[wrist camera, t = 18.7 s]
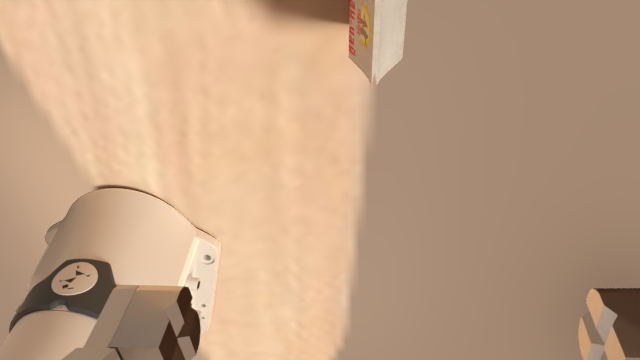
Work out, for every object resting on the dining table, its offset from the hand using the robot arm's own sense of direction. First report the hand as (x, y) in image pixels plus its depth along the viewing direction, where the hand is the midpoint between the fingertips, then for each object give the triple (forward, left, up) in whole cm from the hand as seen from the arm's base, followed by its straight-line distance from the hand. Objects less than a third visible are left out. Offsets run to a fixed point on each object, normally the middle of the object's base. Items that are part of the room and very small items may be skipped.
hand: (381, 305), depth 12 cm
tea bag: (-4, 0, -34) cm, 35 cm away
